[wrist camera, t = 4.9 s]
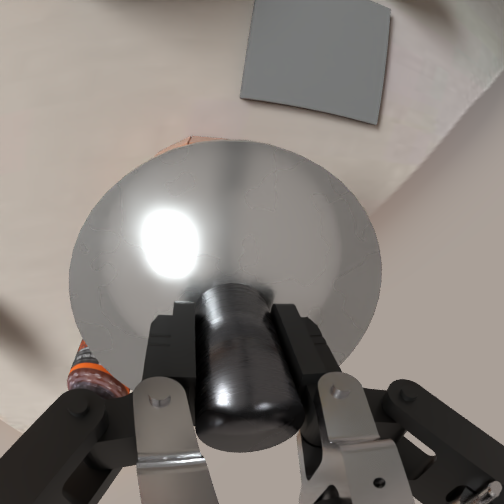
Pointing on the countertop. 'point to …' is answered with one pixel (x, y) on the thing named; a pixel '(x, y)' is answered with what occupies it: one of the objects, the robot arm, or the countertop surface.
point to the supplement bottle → (94, 376)
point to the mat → (318, 55)
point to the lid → (226, 276)
